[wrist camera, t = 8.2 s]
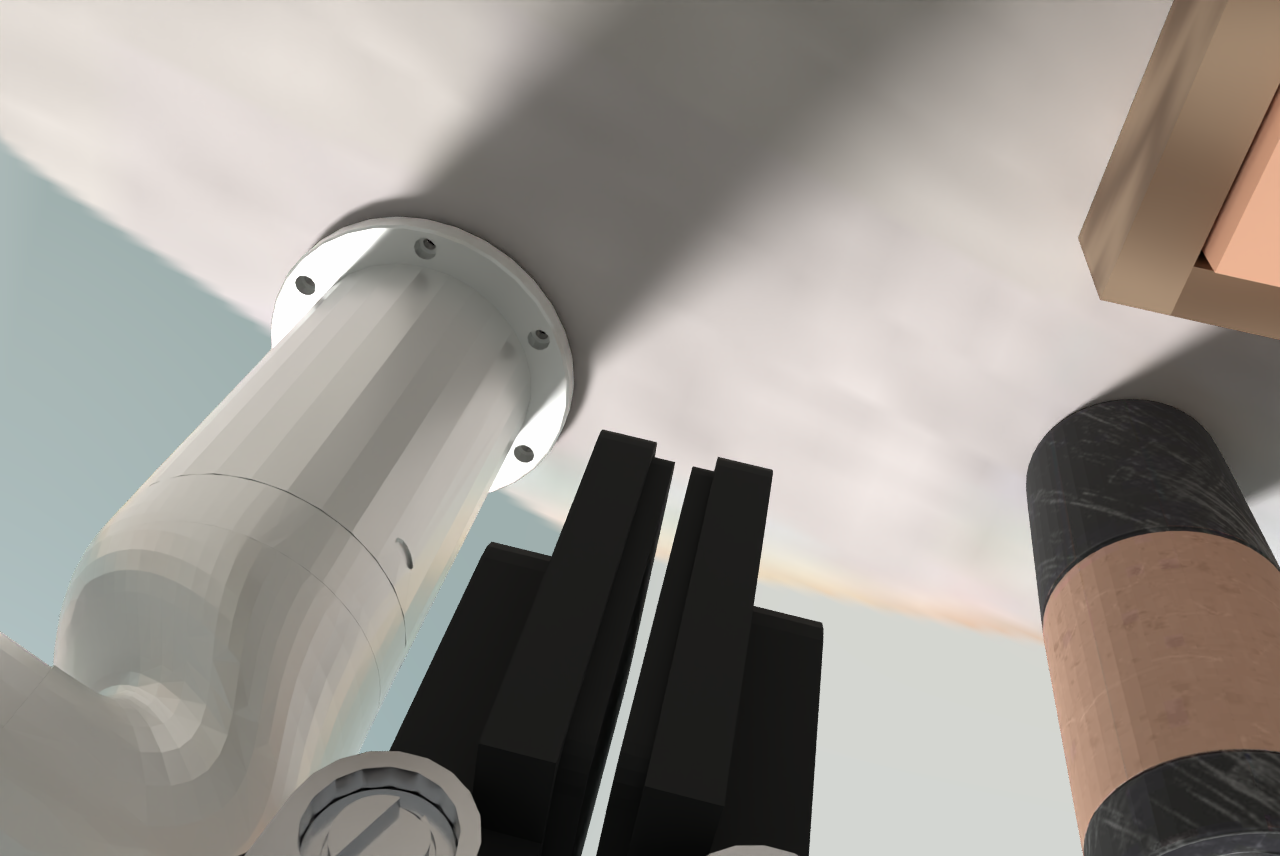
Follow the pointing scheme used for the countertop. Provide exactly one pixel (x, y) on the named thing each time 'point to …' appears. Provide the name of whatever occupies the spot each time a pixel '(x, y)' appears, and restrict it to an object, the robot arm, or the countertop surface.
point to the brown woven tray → (1187, 167)
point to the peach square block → (1252, 211)
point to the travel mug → (1158, 635)
